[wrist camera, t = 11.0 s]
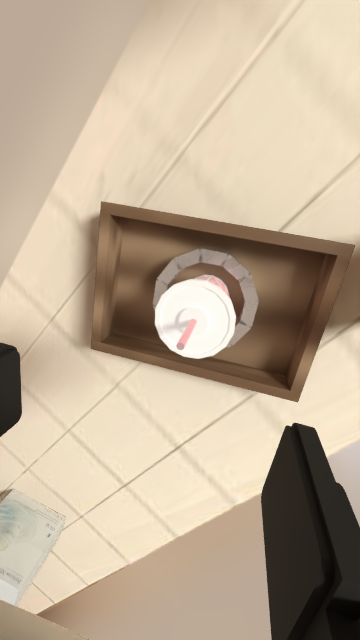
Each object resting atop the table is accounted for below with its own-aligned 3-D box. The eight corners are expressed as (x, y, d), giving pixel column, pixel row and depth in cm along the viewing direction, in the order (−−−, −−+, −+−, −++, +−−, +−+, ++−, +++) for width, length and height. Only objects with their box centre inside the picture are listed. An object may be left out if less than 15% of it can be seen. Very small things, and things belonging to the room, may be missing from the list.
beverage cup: (172, 314, 30) (121, 374, 17) (186, 260, 28) (140, 279, 15) (226, 331, 29) (216, 407, 16) (244, 276, 27) (251, 312, 14)
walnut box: (119, 206, 29) (101, 201, 25) (338, 244, 25) (355, 245, 22) (107, 336, 33) (90, 348, 30) (290, 381, 30) (297, 402, 26)
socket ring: (168, 240, 28) (161, 241, 25) (266, 259, 26) (269, 261, 24) (154, 330, 31) (147, 338, 29) (242, 351, 29) (242, 361, 27)
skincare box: (67, 515, 45) (19, 593, 35) (59, 538, 47) (11, 618, 37) (13, 486, 45) (-50, 554, 36) (7, 510, 48) (-54, 581, 38)
